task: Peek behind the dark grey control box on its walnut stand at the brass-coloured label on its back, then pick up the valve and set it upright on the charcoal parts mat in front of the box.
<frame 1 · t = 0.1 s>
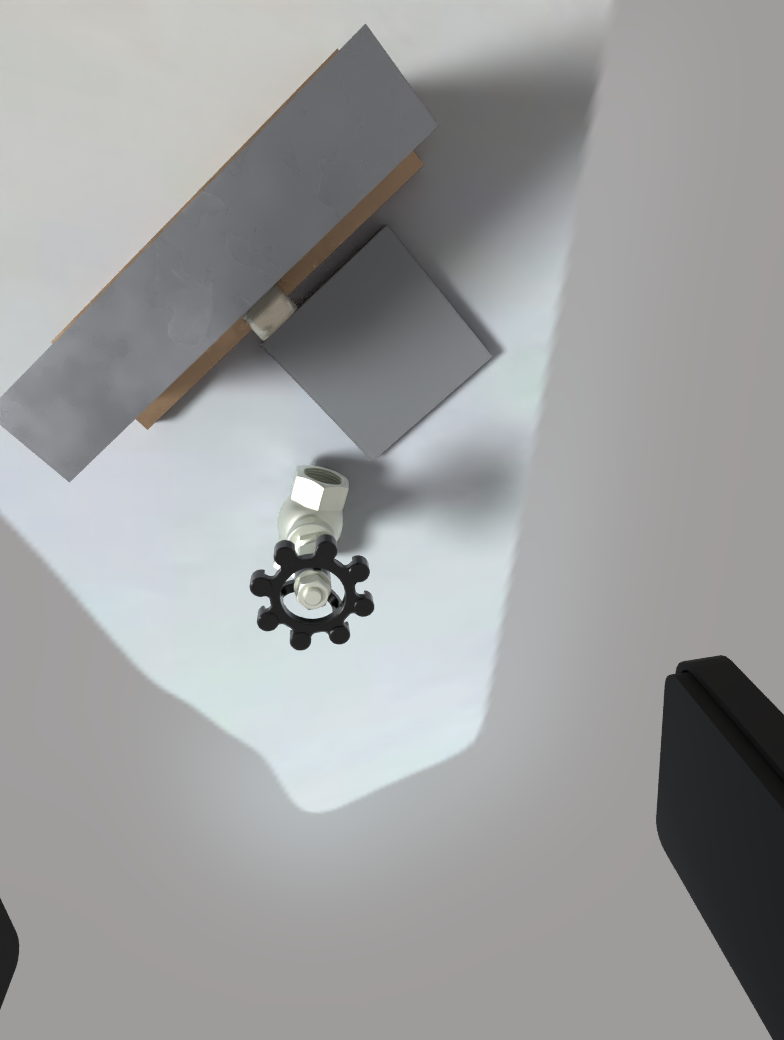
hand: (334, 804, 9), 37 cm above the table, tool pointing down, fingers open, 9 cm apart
parts mat: (377, 348, 44), on the table
valve: (310, 508, 48), on the table
control box: (236, 253, 41), on the table
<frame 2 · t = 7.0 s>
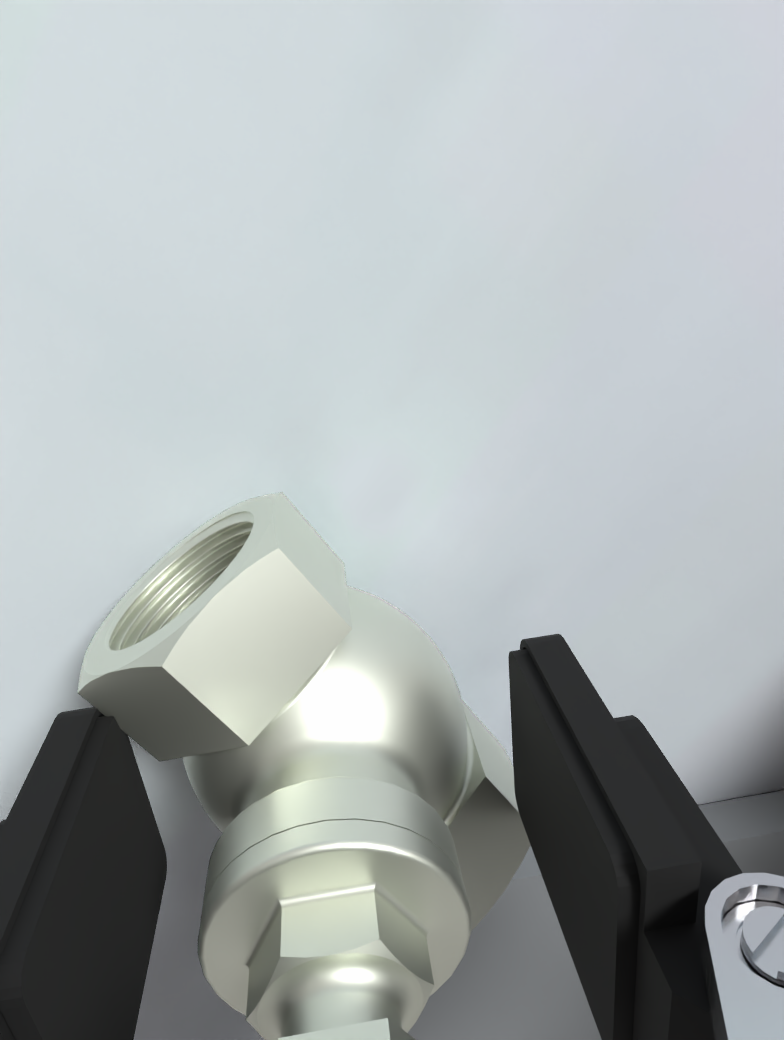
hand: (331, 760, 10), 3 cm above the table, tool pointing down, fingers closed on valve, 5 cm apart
parts mat: (589, 973, 17), on the table
valve: (322, 643, 13), on the table, touching gripper
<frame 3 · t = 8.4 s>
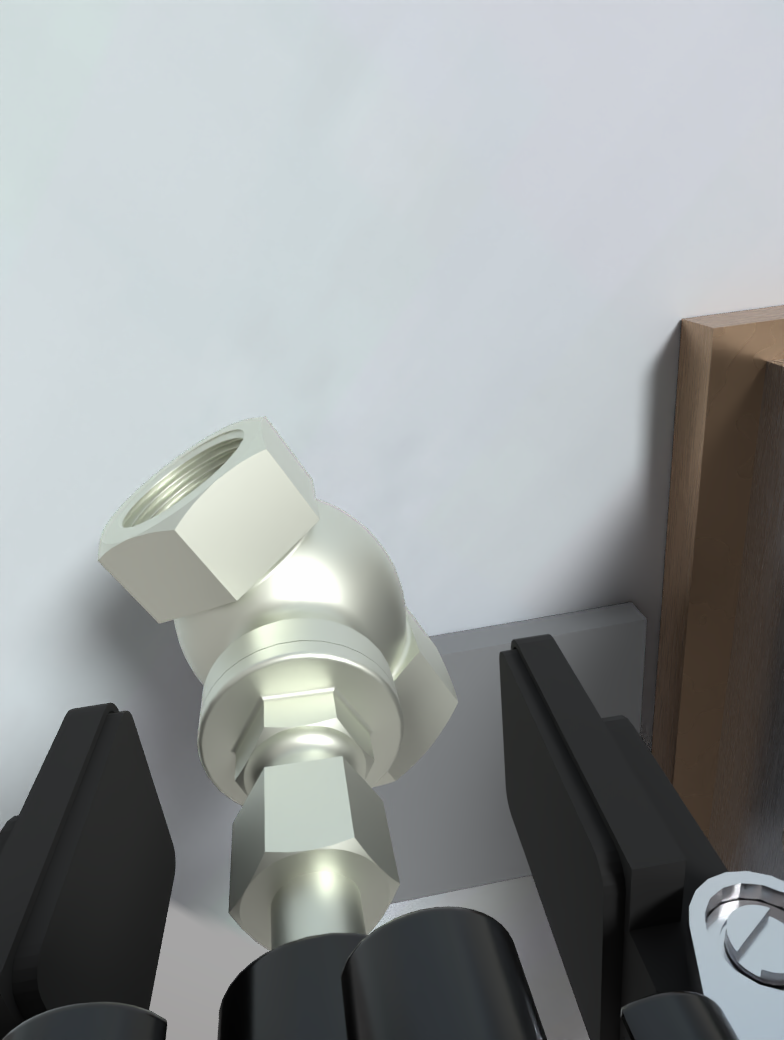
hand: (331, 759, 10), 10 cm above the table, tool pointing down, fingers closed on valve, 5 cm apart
parts mat: (482, 753, 24), on the table
valve: (288, 556, 16), point 4 cm above the table, touching gripper
control box: (758, 644, 23), on the table
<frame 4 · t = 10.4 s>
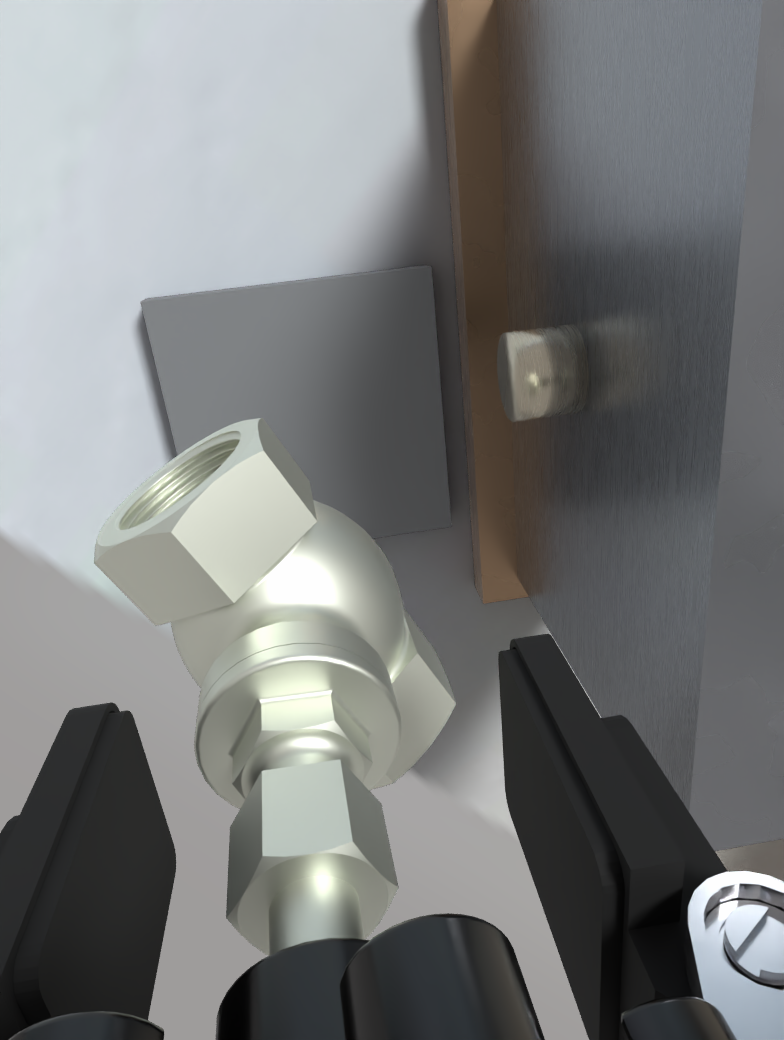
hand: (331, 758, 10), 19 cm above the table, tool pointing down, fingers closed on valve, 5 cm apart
parts mat: (309, 417, 27), on the table
valve: (285, 558, 16), point 13 cm above the table, touching gripper
control box: (549, 320, 27), on the table
when the fingers open (7 cm above the table, at t = 12.4 s): valve stays where it is, resting on parts mat.
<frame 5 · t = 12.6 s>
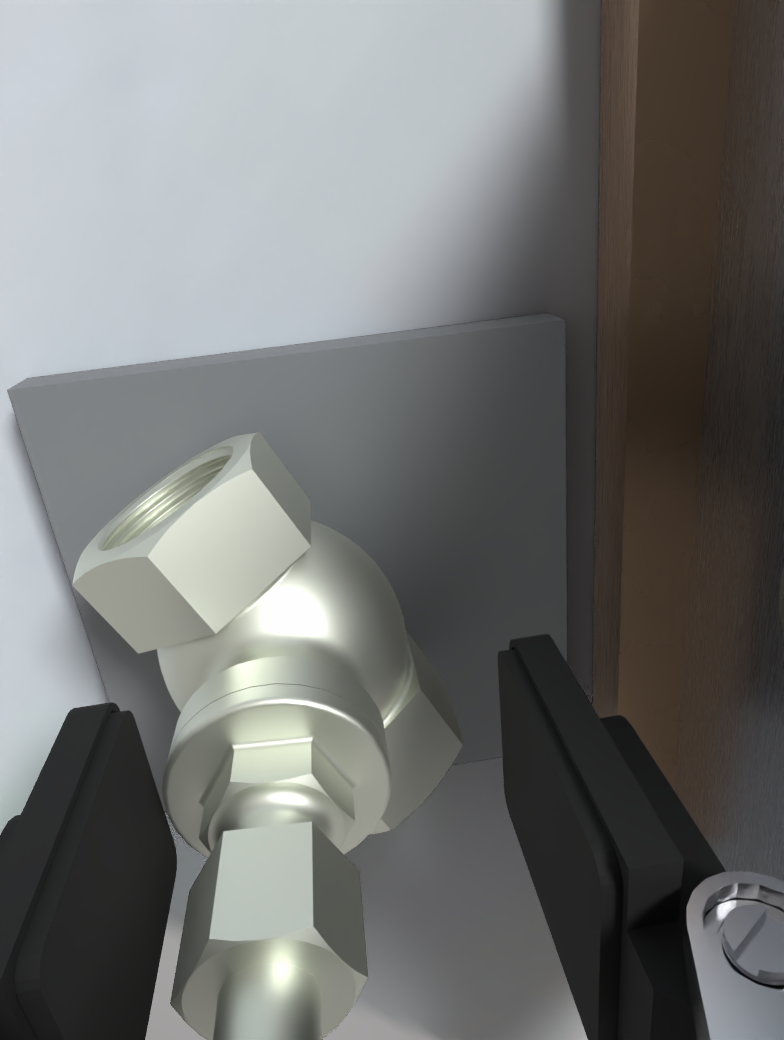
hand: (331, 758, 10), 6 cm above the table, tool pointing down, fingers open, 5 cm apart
parts mat: (330, 574, 16), on the table
valve: (288, 580, 15), point 1 cm above the table, touching parts mat
control box: (754, 407, 15), on the table
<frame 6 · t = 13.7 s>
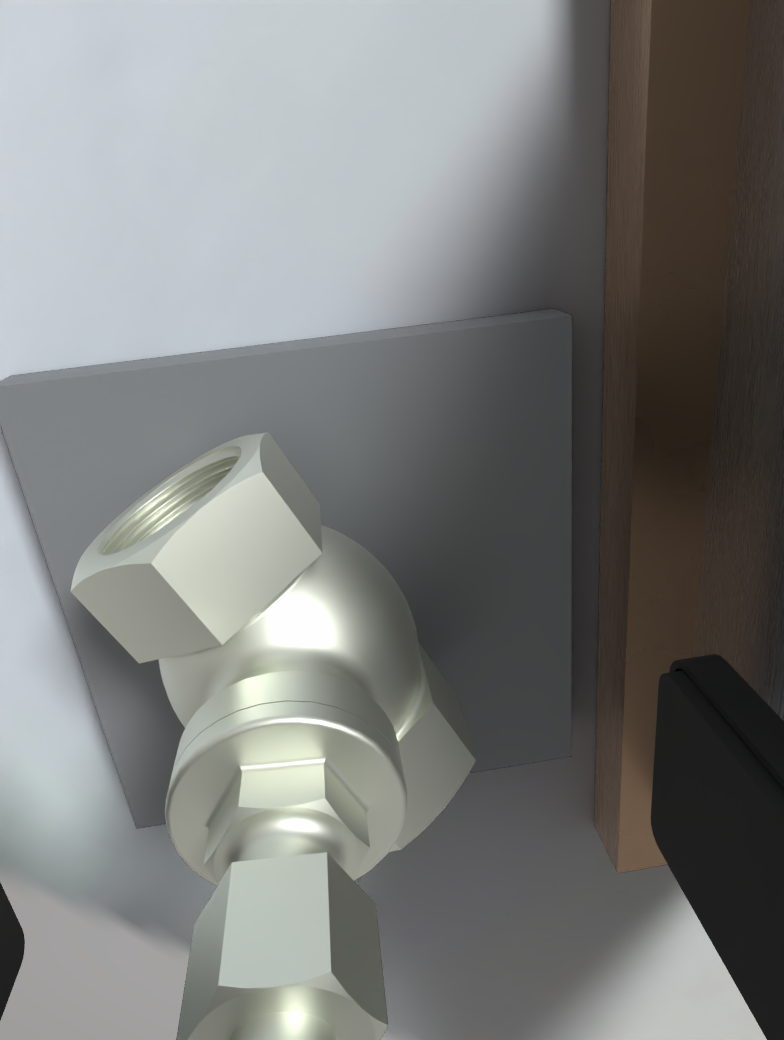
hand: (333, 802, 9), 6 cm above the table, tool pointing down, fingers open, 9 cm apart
parts mat: (326, 579, 15), on the table
valve: (294, 585, 14), point 1 cm above the table, touching parts mat
control box: (766, 407, 15), on the table
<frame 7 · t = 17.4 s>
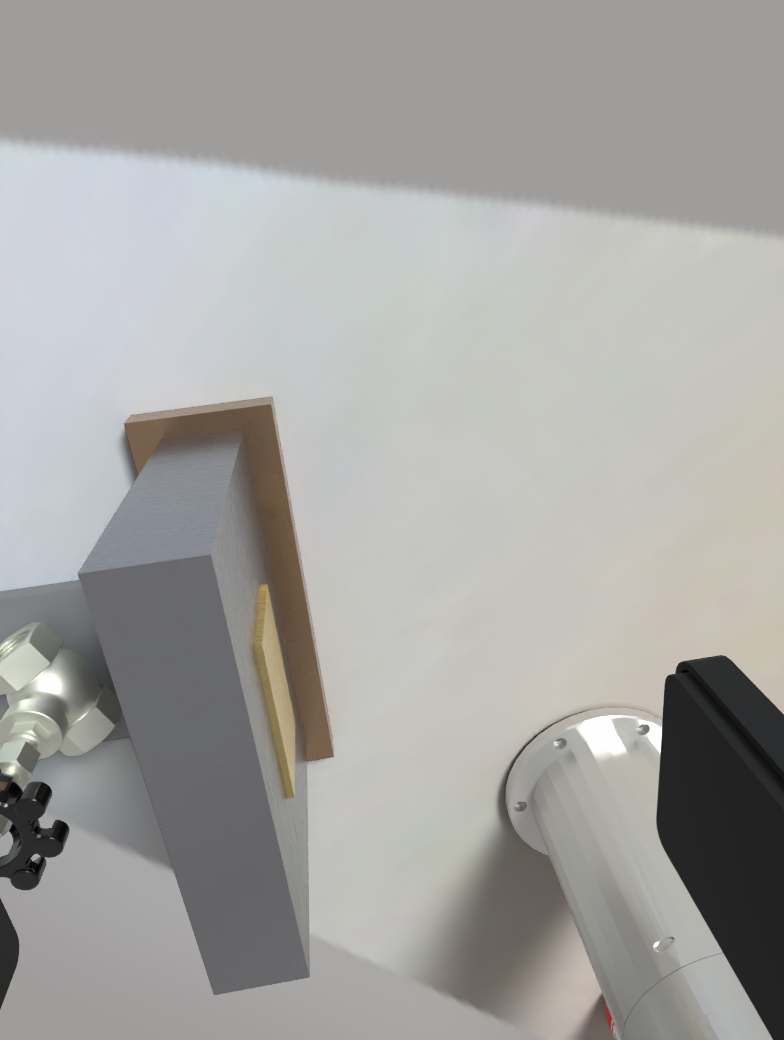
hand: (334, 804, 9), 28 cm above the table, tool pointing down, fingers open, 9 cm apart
parts mat: (83, 660, 40), on the table
valve: (66, 664, 39), point 1 cm above the table, touching parts mat
control box: (243, 597, 40), on the table
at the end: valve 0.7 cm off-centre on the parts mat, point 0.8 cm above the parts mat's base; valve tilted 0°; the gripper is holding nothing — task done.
